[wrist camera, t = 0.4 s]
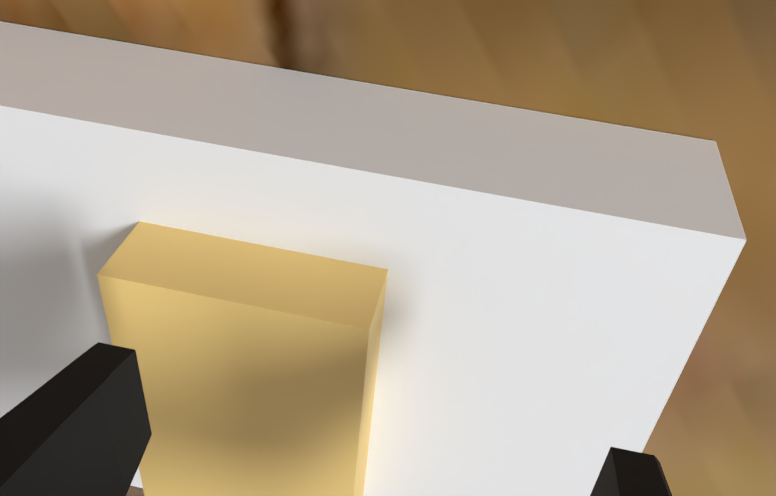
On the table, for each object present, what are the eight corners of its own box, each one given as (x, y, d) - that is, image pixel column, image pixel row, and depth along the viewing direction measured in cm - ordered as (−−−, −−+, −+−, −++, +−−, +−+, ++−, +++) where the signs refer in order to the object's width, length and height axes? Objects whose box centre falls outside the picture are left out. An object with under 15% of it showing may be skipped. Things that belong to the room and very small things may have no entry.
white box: (574, 481, 26) (574, 588, 23) (5, 357, 28) (-64, 440, 25) (715, 141, 18) (746, 240, 14) (-119, 1, 20) (-248, 60, 17)
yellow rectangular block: (363, 494, 22) (347, 555, 21) (176, 452, 23) (147, 508, 21) (388, 269, 17) (369, 329, 15) (139, 221, 17) (97, 274, 16)
